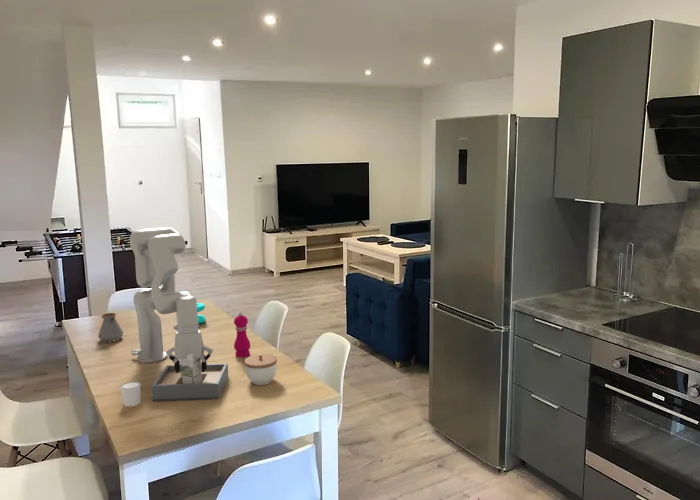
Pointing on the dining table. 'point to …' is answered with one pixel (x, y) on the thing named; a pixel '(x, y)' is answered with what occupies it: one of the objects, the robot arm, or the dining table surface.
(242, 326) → the pepper mill
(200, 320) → the donuts
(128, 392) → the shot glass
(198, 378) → the syrup box
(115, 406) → the dining table surface
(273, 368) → the lidded bowl
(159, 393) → the gray open box
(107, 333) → the coffee pot
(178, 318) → the robot arm
